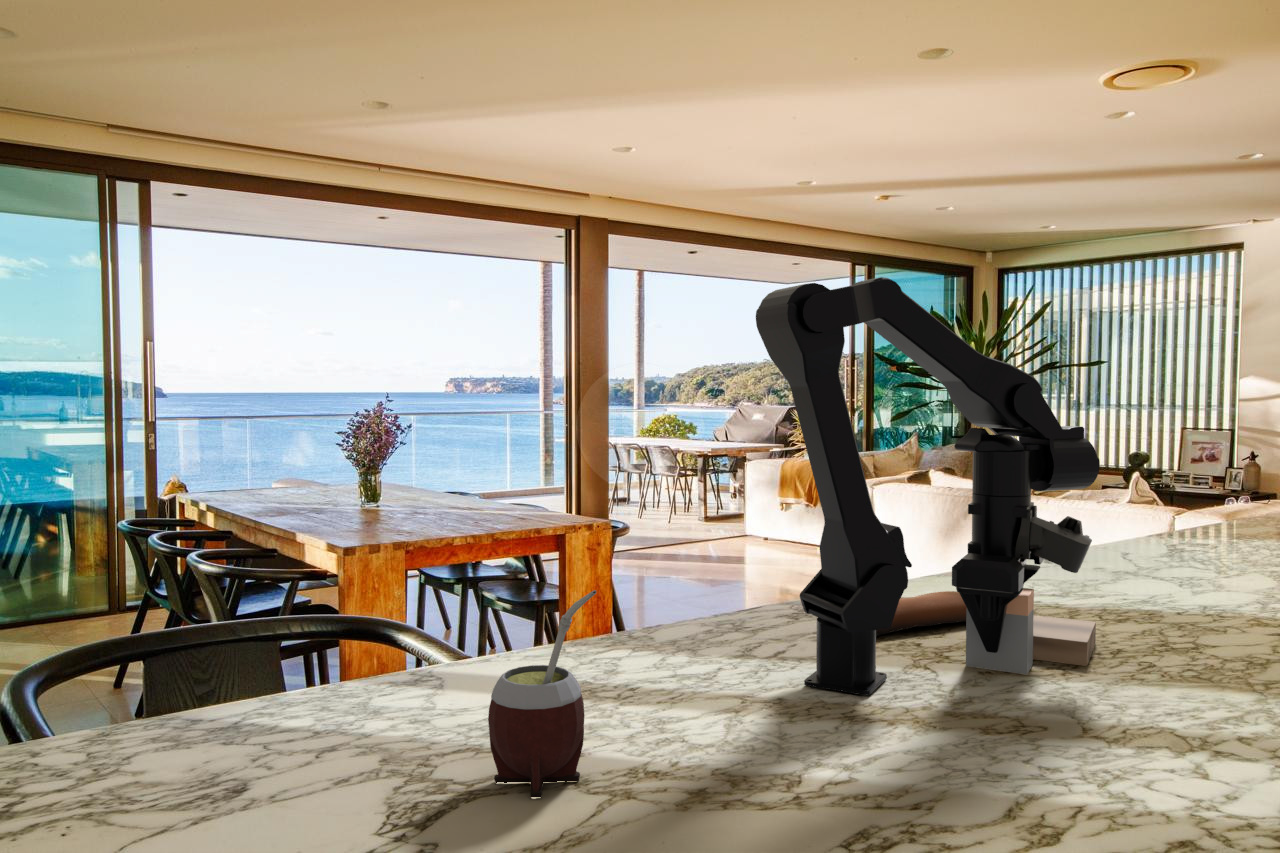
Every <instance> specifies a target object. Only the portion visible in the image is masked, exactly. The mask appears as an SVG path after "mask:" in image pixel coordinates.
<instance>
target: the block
mask: <svg viewBox="0 0 1280 853" xmlns="http://www.w3.org/2000/svg"><path fill="white" fill-rule="evenodd" d="M1023 588H1024V589H1023V591H1022V592H1021V593H1020V595H1019V596H1018V597H1016V598H1015V599H1013V600H1012V601H1011V602H1010V603H1008V605H1007V610H1006V615H1005V620H1004V625H1003V630H1002V635H1001V640H1000V645H999V649H998V652H997V653H992V652H987V651H986V650H985V647H984V645H983V643H982V641H981V638H980V636H979V634H978V632H977V629H976V627H975V625H974V622H973V620H972V618H971V616H970V614H969V612H968V610H967V608H966V621H965V622H966V624H965V625H966V626H965V629H966V630H965V667H970V668H976V667H978V668H977V669H983V668H985V670H991V669H992V671H998V670H1000V671H999V672H1006V673H1012V674H1013V673H1014V674H1020V675H1028V674H1029V672H1030V670H1031V668H1032V667H1033V665H1034V661H1033V660H1034V659H1033V617H1034V615H1035V614H1034V609H1035V607H1034V604H1035V603H1034V602H1035V599H1034V598H1035V588H1026V587H1023Z"/></svg>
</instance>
